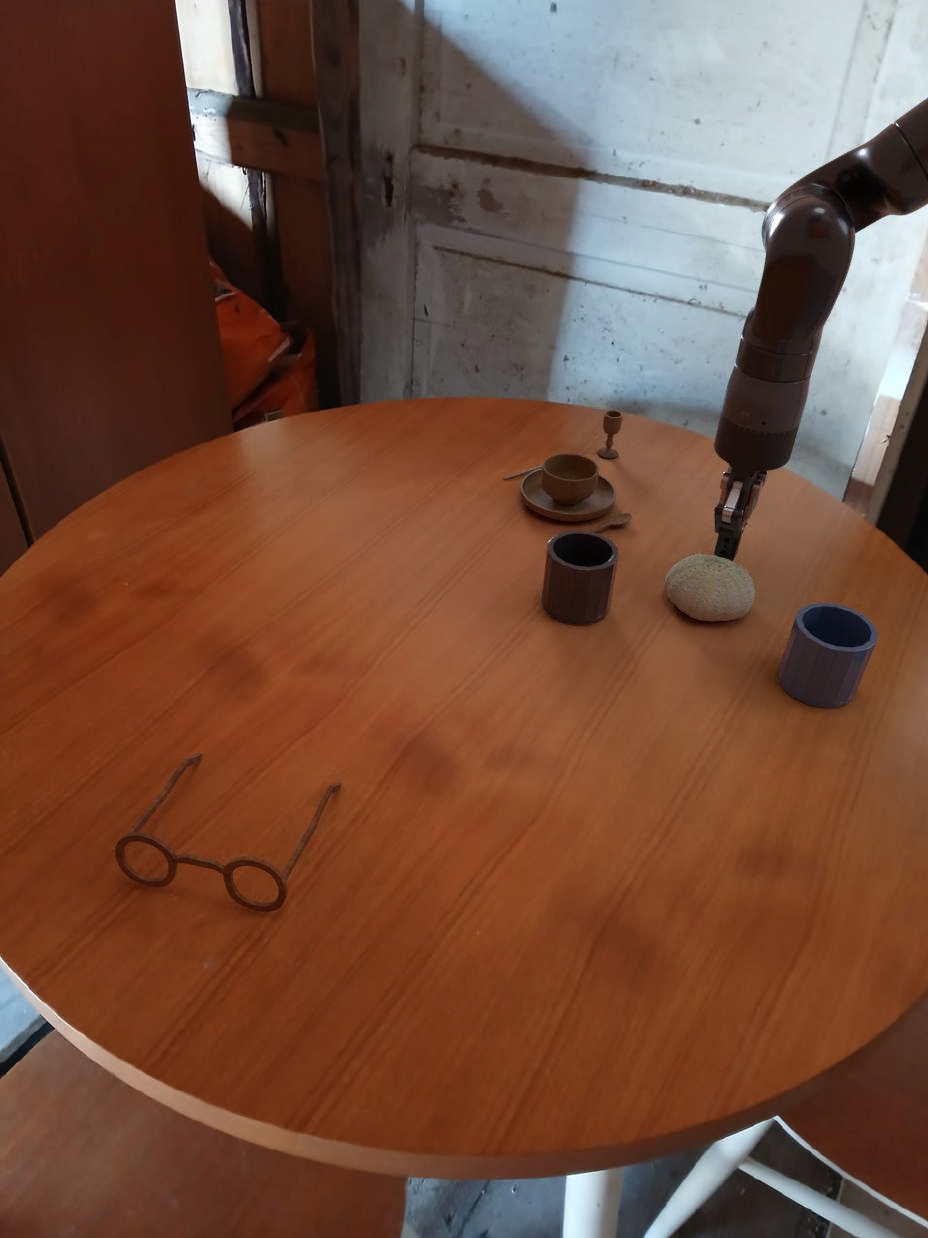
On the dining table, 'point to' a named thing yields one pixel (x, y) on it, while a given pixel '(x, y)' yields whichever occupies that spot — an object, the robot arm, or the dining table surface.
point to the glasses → (227, 870)
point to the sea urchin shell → (710, 588)
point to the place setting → (574, 484)
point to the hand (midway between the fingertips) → (724, 556)
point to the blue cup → (826, 654)
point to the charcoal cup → (579, 577)
